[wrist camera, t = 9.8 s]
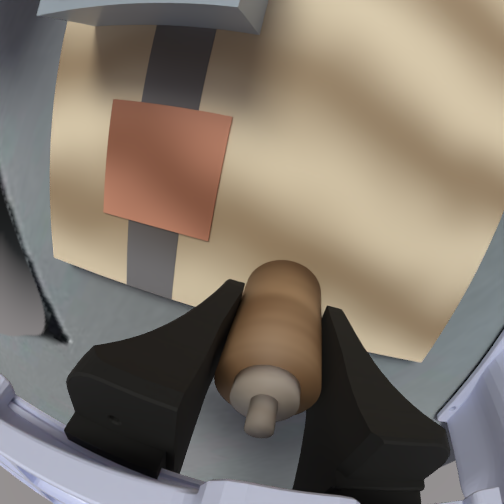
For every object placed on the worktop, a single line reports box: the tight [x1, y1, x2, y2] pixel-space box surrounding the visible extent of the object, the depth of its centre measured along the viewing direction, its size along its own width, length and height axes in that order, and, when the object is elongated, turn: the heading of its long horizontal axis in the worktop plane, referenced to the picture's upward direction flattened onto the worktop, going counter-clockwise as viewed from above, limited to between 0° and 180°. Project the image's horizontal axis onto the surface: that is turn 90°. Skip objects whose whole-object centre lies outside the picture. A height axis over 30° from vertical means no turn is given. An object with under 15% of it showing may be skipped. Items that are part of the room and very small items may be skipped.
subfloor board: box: [50, 0, 504, 362], centre depth 11 cm, size 20×20×1 cm
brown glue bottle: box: [214, 260, 322, 438], centre depth 11 cm, size 3×3×7 cm
